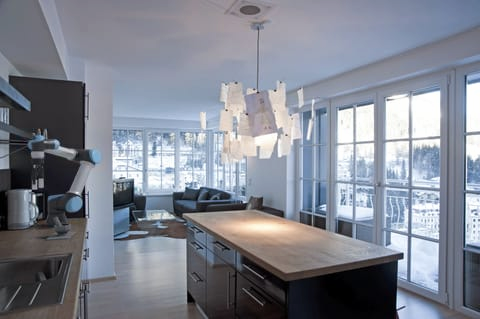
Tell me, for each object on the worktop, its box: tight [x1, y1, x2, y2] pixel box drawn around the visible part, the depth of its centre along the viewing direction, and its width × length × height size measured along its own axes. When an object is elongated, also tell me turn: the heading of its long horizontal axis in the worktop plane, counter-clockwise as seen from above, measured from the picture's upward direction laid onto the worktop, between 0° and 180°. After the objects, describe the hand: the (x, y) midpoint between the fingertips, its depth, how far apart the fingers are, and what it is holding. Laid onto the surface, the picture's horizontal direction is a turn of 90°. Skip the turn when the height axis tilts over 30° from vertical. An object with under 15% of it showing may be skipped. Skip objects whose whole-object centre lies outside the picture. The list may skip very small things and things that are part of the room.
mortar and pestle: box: [53, 217, 72, 236], centre depth 219 cm, size 11×9×12 cm
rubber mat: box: [45, 231, 76, 241], centre depth 219 cm, size 20×13×1 cm, turn 15°
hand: (37, 188), depth 228 cm, fingers open, 13 cm apart
